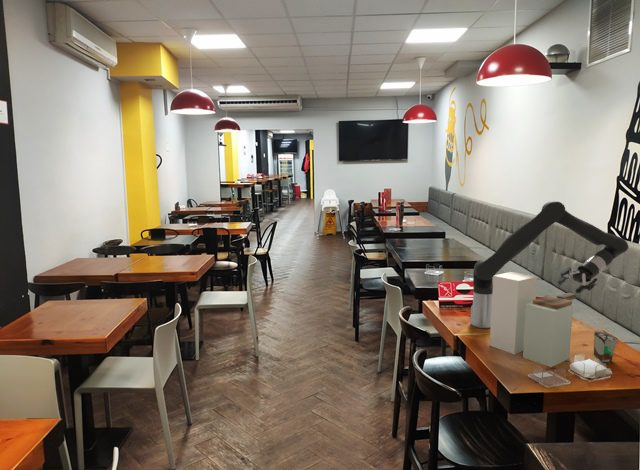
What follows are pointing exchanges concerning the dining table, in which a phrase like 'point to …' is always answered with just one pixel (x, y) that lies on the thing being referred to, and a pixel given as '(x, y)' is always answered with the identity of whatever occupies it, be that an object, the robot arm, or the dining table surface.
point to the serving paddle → (555, 300)
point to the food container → (604, 346)
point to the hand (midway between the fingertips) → (567, 287)
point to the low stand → (547, 334)
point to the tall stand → (510, 309)
